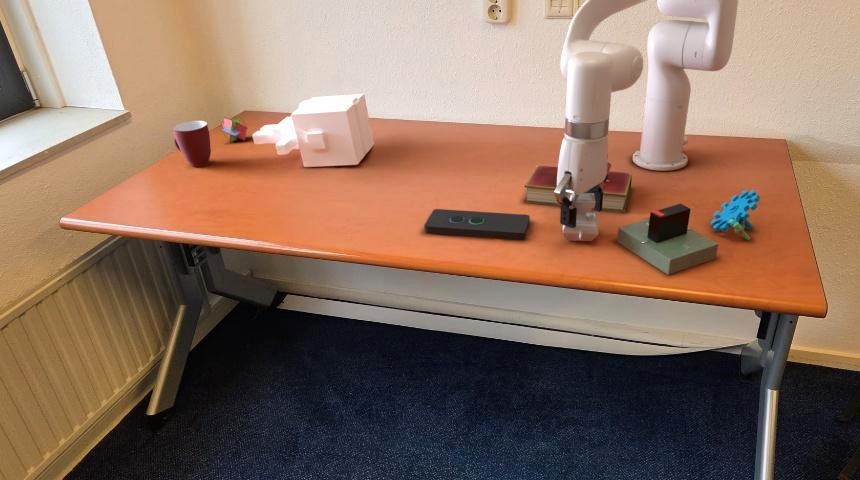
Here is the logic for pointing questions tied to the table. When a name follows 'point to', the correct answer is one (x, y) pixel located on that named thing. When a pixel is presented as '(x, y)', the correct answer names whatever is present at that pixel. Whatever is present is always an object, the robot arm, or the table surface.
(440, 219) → the smart home device
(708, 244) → the green base plate
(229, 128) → the geometric puzzle
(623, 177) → the hardcover book
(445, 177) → the table surface
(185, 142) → the mug
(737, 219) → the blue splat shape
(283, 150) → the white voxel figure
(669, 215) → the black rectangular block
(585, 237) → the white square urn
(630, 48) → the robot arm
